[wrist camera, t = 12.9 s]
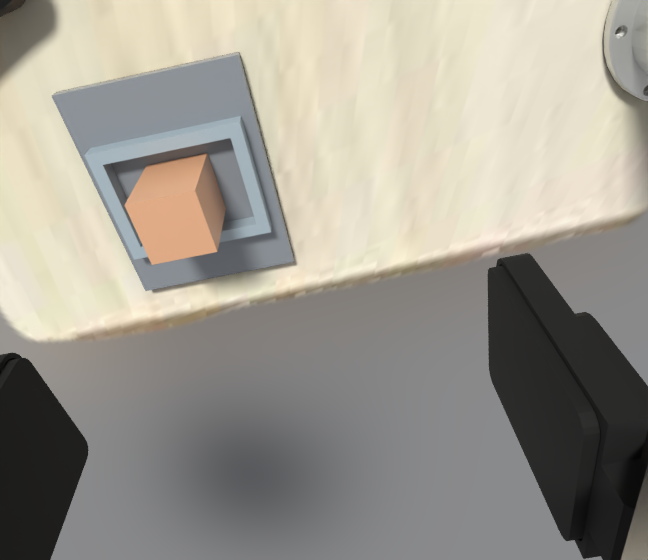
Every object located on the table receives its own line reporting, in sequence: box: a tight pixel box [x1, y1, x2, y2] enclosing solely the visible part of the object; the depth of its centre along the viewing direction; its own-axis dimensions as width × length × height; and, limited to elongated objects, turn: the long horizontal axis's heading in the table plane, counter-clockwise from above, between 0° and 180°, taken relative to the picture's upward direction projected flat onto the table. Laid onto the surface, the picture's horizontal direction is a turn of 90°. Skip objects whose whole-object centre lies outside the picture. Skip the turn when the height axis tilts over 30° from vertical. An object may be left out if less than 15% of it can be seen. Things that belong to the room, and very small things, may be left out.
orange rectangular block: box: [125, 153, 226, 265], centre depth 40 cm, size 5×5×7 cm
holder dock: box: [52, 52, 294, 291], centre depth 43 cm, size 14×18×2 cm
